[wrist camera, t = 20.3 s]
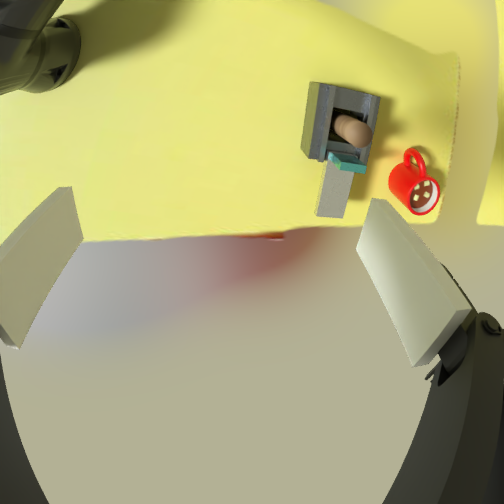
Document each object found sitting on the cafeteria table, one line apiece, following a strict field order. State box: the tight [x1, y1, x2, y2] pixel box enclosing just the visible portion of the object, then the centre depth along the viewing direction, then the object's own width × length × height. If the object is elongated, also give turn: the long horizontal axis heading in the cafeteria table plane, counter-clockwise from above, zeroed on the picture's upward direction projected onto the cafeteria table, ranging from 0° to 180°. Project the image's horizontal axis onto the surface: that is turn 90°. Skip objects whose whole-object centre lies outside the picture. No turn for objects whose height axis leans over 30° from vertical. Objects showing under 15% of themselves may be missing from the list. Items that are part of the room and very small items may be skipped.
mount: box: [301, 82, 380, 165], centre depth 39 cm, size 10×12×7 cm
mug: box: [388, 148, 440, 215], centre depth 45 cm, size 8×12×8 cm, turn 18°
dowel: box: [329, 110, 373, 148], centre depth 37 cm, size 4×4×12 cm
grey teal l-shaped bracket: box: [314, 150, 367, 218], centre depth 41 cm, size 5×11×6 cm, turn 175°
